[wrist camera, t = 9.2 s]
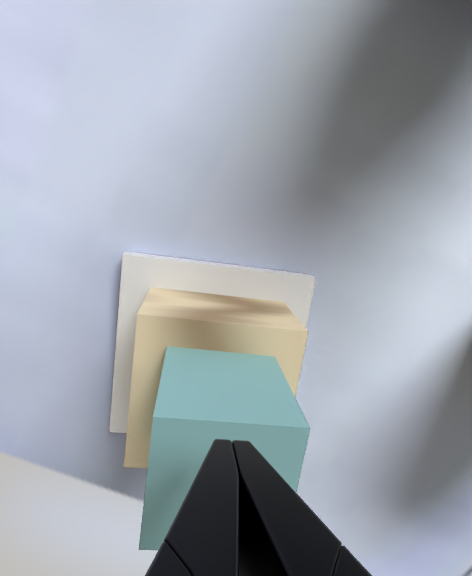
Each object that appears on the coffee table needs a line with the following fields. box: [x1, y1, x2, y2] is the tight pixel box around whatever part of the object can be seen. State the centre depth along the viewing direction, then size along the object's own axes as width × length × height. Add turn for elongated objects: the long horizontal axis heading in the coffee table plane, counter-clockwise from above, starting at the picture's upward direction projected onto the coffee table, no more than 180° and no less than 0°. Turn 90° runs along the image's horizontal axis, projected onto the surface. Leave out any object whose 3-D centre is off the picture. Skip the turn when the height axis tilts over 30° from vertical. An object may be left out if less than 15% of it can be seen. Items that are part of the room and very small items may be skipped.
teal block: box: [139, 346, 310, 550], centre depth 13 cm, size 4×4×5 cm
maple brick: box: [124, 287, 308, 468], centre depth 18 cm, size 7×7×4 cm
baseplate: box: [109, 251, 316, 433], centre depth 21 cm, size 10×10×1 cm
